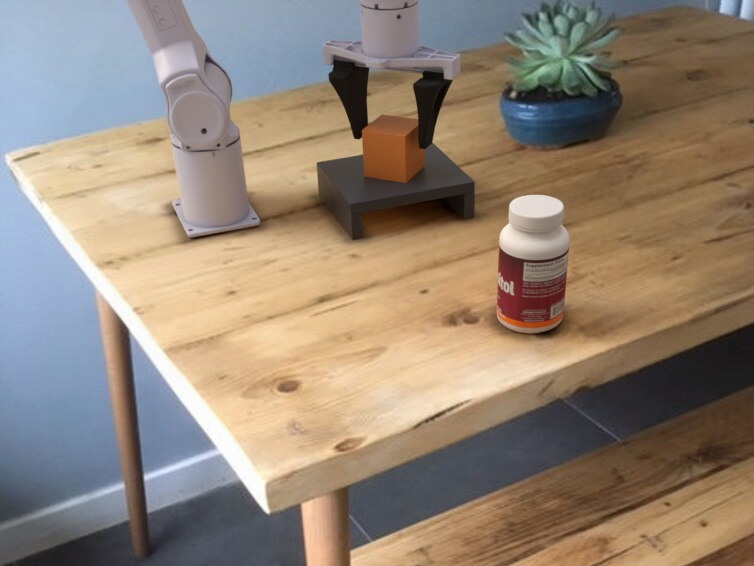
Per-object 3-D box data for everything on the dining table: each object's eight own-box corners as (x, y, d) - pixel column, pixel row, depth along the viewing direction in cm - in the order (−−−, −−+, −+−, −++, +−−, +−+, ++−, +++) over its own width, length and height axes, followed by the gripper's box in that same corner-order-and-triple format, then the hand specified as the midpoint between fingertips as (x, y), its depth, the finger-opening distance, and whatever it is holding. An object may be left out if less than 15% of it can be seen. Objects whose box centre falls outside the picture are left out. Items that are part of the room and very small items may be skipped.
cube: (363, 176, 112) (361, 130, 109) (383, 159, 115) (381, 114, 112) (406, 183, 110) (405, 136, 107) (424, 166, 114) (424, 119, 110)
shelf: (318, 196, 118) (316, 162, 115) (433, 176, 121) (433, 142, 119) (352, 240, 110) (350, 203, 107) (474, 217, 113) (475, 181, 110)
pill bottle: (490, 304, 98) (494, 192, 91) (555, 299, 99) (564, 187, 92) (502, 338, 94) (507, 223, 87) (569, 333, 94) (580, 217, 87)
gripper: (304, 6, 101) (315, 144, 110) (441, 20, 97) (441, 163, 106) (337, -13, 106) (344, 122, 115) (469, 0, 101) (466, 139, 110)
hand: (392, 140), depth 111 cm, fingers open, 7 cm apart
